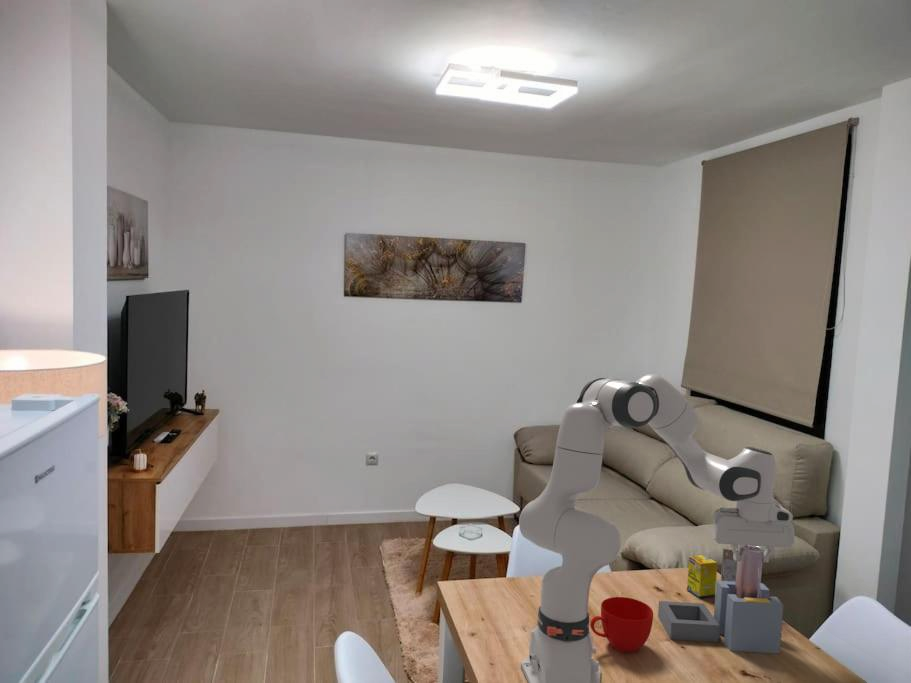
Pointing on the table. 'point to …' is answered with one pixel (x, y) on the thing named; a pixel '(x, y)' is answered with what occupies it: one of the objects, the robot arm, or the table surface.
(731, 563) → the coffee box
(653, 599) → the table surface
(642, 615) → the ceramic cup
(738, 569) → the beverage can
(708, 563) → the supplement box
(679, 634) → the tray
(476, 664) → the table surface
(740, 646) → the socket
